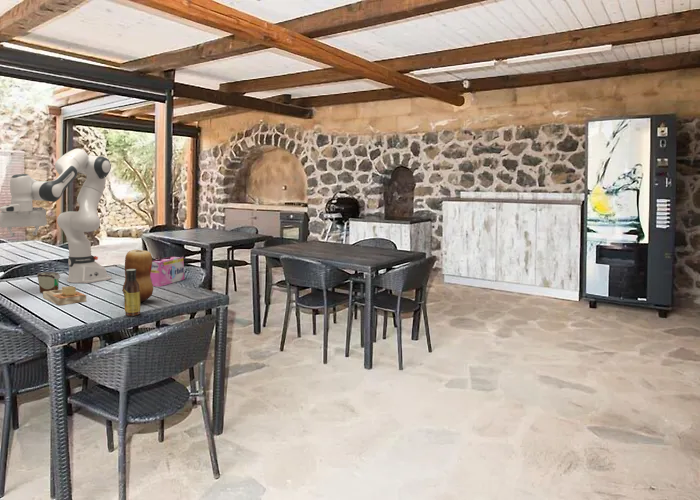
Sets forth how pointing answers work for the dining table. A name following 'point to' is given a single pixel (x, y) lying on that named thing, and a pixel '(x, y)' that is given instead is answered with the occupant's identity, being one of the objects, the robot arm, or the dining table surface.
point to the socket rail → (58, 299)
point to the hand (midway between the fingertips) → (23, 235)
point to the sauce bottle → (131, 294)
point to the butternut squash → (140, 271)
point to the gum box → (167, 270)
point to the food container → (48, 281)
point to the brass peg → (68, 291)
